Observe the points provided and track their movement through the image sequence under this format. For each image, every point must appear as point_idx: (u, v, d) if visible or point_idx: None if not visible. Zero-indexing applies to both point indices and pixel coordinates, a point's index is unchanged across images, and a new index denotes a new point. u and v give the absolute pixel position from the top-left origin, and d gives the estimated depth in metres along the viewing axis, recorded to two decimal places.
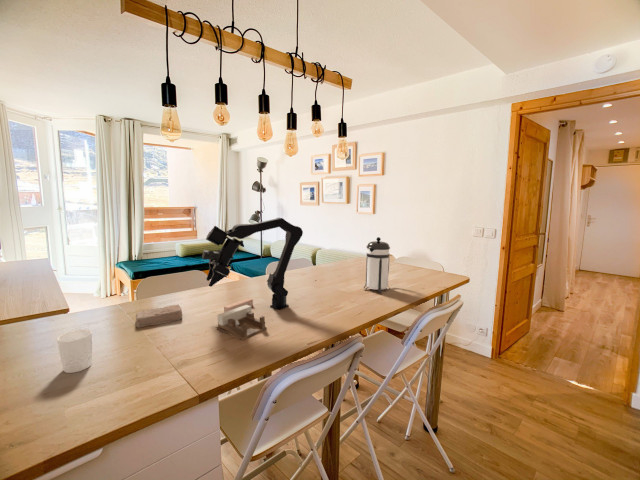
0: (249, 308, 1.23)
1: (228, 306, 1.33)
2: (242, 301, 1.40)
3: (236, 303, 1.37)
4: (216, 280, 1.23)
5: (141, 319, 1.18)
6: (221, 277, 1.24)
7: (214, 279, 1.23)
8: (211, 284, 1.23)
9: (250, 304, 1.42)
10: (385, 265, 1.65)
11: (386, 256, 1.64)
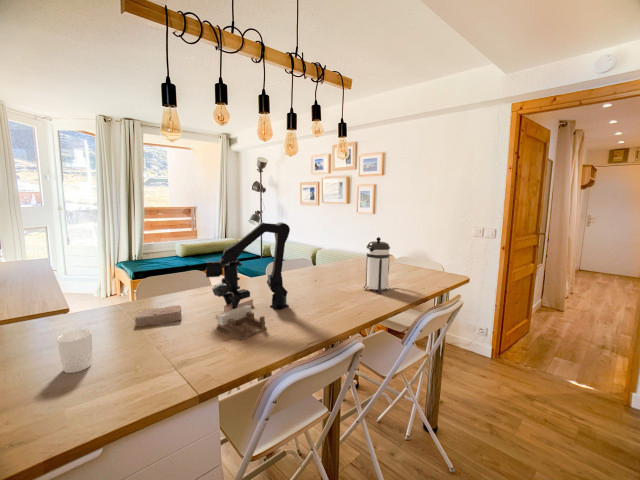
0: (249, 308, 1.23)
1: (228, 306, 1.33)
2: (242, 301, 1.40)
3: None
4: (237, 303, 1.34)
5: (139, 319, 1.19)
6: None
7: (235, 303, 1.33)
8: (235, 308, 1.34)
9: (250, 304, 1.42)
10: (385, 265, 1.65)
11: (386, 256, 1.64)
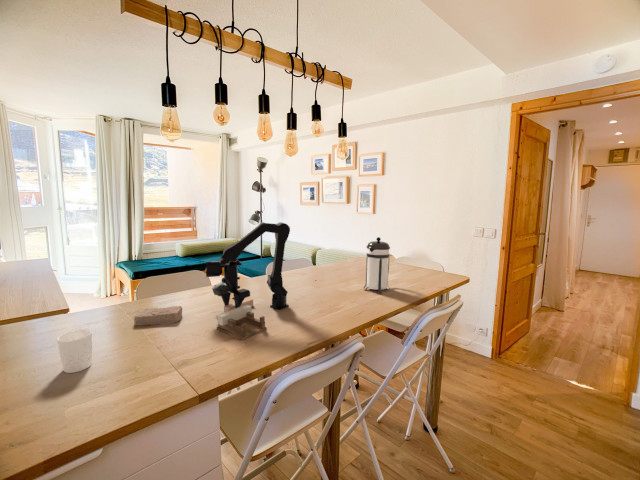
0: (249, 308, 1.23)
1: (228, 306, 1.34)
2: None
3: None
4: (240, 303, 1.33)
5: (137, 318, 1.20)
6: (242, 299, 1.33)
7: (238, 304, 1.32)
8: None
9: (250, 304, 1.42)
10: (385, 265, 1.65)
11: (386, 256, 1.64)
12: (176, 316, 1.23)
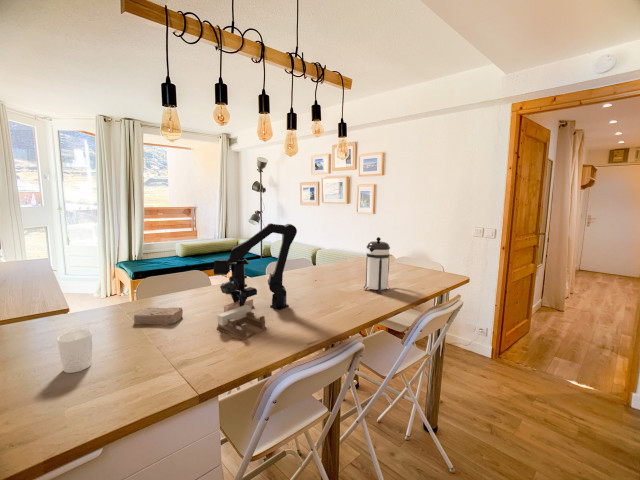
0: (249, 308, 1.23)
1: (228, 306, 1.33)
2: None
3: (236, 303, 1.37)
4: (244, 300, 1.37)
5: (136, 317, 1.21)
6: None
7: (242, 301, 1.36)
8: None
9: (250, 304, 1.42)
10: (385, 265, 1.65)
11: (386, 256, 1.64)
12: (172, 318, 1.21)
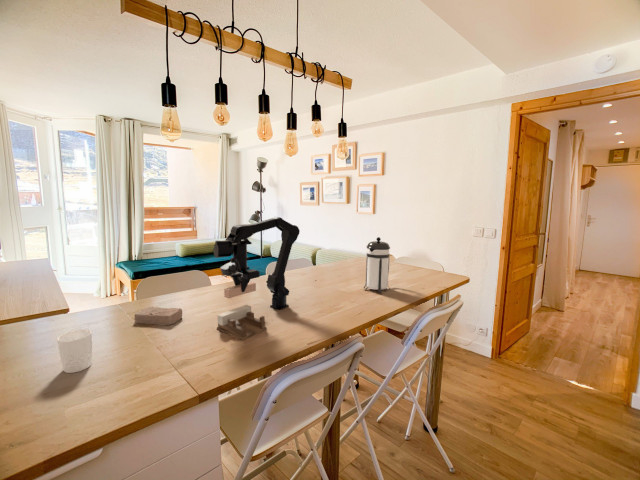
0: (249, 308, 1.23)
1: (228, 288, 1.25)
2: None
3: (237, 286, 1.28)
4: (246, 284, 1.28)
5: (136, 316, 1.22)
6: (249, 279, 1.28)
7: (244, 284, 1.27)
8: (244, 289, 1.28)
9: (253, 288, 1.33)
10: (385, 265, 1.65)
11: (386, 256, 1.64)
12: (169, 319, 1.20)
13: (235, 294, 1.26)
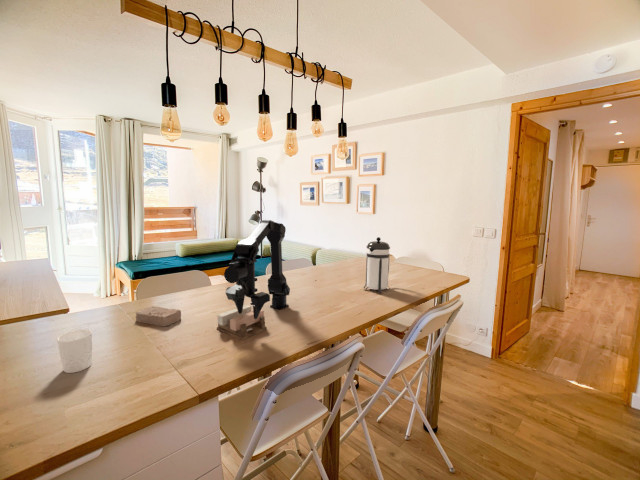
0: (249, 308, 1.23)
1: (235, 319, 1.10)
2: (251, 313, 1.17)
3: (244, 315, 1.14)
4: (259, 310, 1.12)
5: (137, 314, 1.23)
6: (262, 304, 1.12)
7: (257, 310, 1.11)
8: (256, 316, 1.12)
9: None
10: (385, 265, 1.65)
11: (386, 256, 1.64)
12: (164, 320, 1.19)
13: None
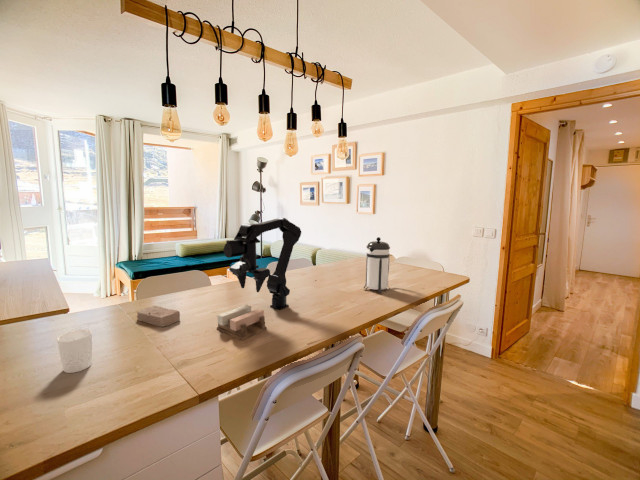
0: (249, 308, 1.23)
1: (235, 319, 1.10)
2: (251, 313, 1.17)
3: (244, 315, 1.14)
4: (261, 284, 1.26)
5: (138, 314, 1.24)
6: (263, 279, 1.26)
7: (259, 284, 1.25)
8: (258, 289, 1.26)
9: None
10: (385, 265, 1.65)
11: (386, 256, 1.64)
12: (161, 321, 1.18)
13: None
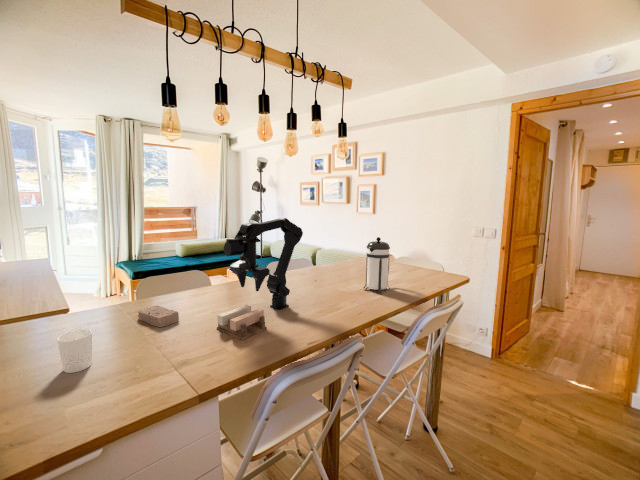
0: (249, 308, 1.23)
1: (235, 319, 1.10)
2: (251, 313, 1.17)
3: (244, 315, 1.14)
4: (260, 283, 1.26)
5: (139, 313, 1.25)
6: (263, 278, 1.27)
7: (259, 283, 1.26)
8: (258, 289, 1.27)
9: None
10: (385, 265, 1.65)
11: (386, 256, 1.64)
12: (158, 321, 1.18)
13: None
